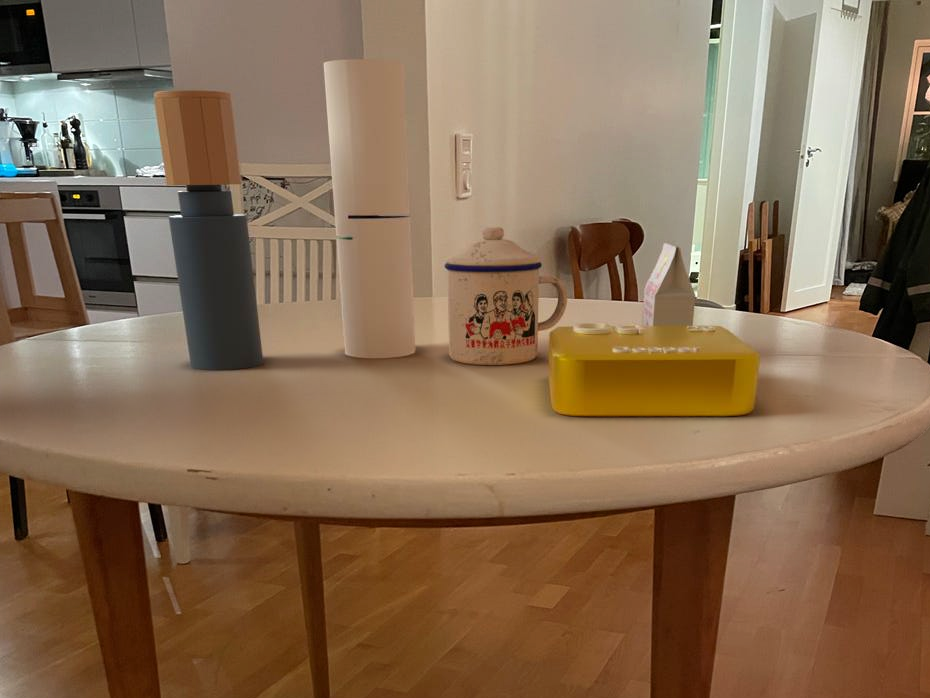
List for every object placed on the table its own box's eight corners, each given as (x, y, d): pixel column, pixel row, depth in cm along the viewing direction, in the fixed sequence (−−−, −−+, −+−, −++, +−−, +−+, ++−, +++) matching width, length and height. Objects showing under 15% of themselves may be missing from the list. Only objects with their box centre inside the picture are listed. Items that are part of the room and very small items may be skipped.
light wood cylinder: (163, 185, 78) (148, 90, 75) (172, 185, 84) (159, 96, 81) (238, 184, 79) (227, 90, 76) (242, 184, 85) (232, 96, 82)
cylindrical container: (398, 359, 89) (383, 57, 78) (332, 356, 91) (309, 61, 80) (425, 347, 95) (415, 65, 84) (363, 344, 97) (345, 69, 86)
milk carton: (676, 349, 93) (685, 242, 88) (689, 361, 87) (699, 246, 82) (640, 350, 93) (647, 242, 88) (650, 362, 87) (658, 247, 82)
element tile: (552, 417, 67) (553, 350, 65) (547, 377, 80) (549, 320, 78) (759, 417, 66) (768, 349, 64) (720, 377, 80) (726, 319, 78)
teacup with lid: (461, 369, 85) (458, 231, 79) (436, 353, 92) (432, 226, 87) (582, 361, 88) (587, 227, 82) (548, 346, 95) (551, 223, 90)
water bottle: (187, 371, 85) (145, 97, 75) (194, 359, 91) (156, 103, 81) (262, 368, 86) (230, 97, 76) (264, 356, 92) (235, 103, 82)
